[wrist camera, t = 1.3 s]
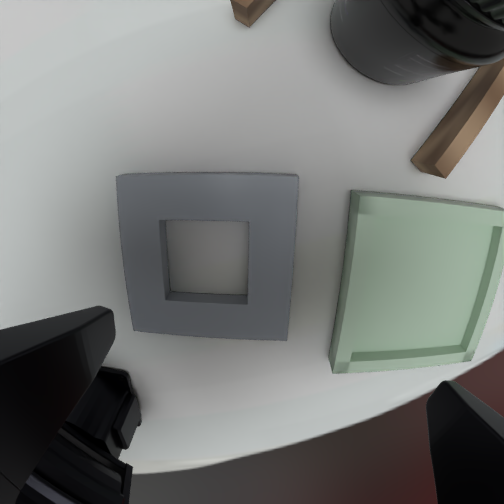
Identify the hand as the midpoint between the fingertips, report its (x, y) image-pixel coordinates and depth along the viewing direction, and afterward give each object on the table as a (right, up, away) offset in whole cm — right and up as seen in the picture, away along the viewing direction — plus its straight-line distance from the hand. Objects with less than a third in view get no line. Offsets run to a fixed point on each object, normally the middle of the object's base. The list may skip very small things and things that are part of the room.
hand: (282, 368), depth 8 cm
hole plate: (-3, +3, +12) cm, 13 cm away
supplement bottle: (+7, +16, +7) cm, 18 cm away
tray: (+11, +1, +12) cm, 16 cm away
